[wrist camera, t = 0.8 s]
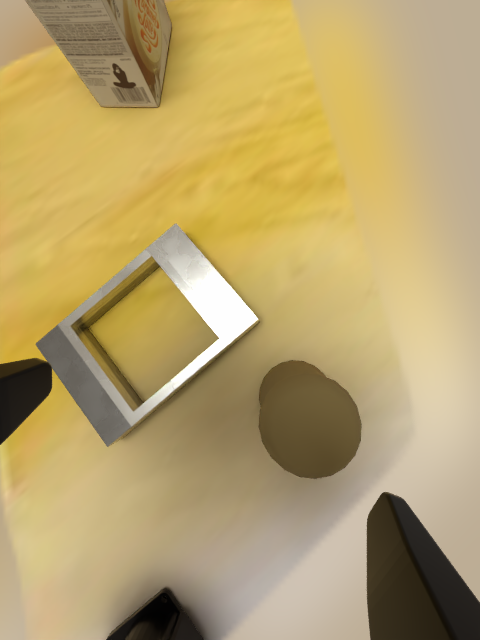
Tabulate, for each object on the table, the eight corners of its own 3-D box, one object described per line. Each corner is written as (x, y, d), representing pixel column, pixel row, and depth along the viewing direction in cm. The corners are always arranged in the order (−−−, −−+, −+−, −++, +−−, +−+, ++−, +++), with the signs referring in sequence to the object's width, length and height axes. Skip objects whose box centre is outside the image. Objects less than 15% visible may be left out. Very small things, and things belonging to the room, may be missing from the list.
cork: (328, 357, 25) (371, 362, 14) (336, 433, 24) (388, 498, 14) (256, 362, 26) (244, 370, 15) (262, 436, 25) (253, 501, 14)
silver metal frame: (122, 438, 26) (107, 446, 24) (55, 344, 28) (35, 344, 25) (259, 321, 26) (258, 318, 24) (184, 234, 28) (175, 222, 25)
